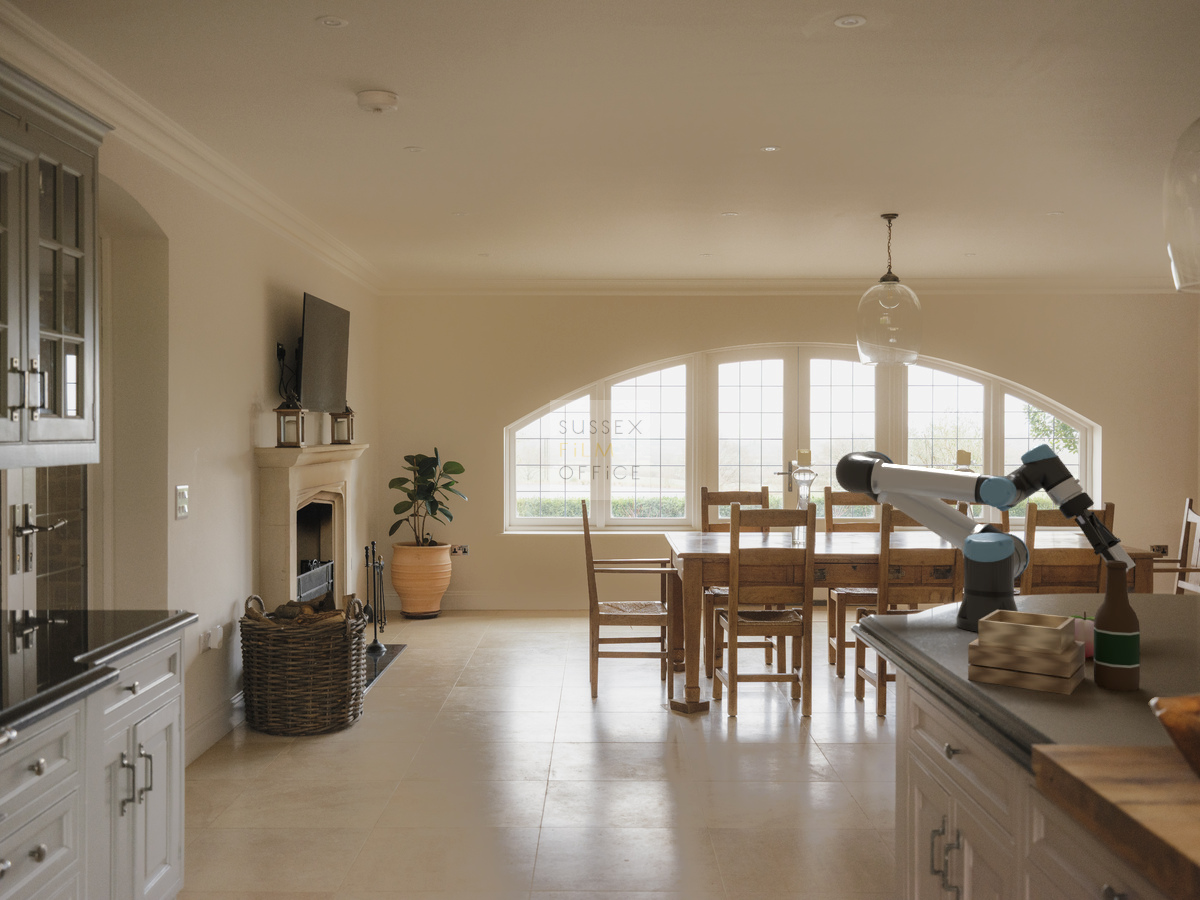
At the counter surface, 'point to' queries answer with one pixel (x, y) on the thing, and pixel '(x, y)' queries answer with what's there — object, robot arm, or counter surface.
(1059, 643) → the top crate
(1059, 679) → the base crate
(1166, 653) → the counter surface
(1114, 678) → the beer bottle
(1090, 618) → the decorative fruit
